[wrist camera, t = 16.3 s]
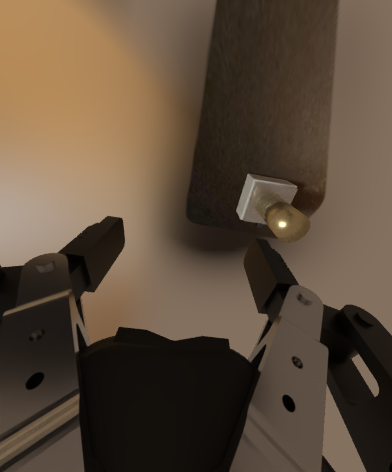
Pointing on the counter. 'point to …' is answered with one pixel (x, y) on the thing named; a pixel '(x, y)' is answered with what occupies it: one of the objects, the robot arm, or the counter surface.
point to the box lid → (261, 190)
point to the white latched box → (249, 186)
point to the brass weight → (282, 218)
